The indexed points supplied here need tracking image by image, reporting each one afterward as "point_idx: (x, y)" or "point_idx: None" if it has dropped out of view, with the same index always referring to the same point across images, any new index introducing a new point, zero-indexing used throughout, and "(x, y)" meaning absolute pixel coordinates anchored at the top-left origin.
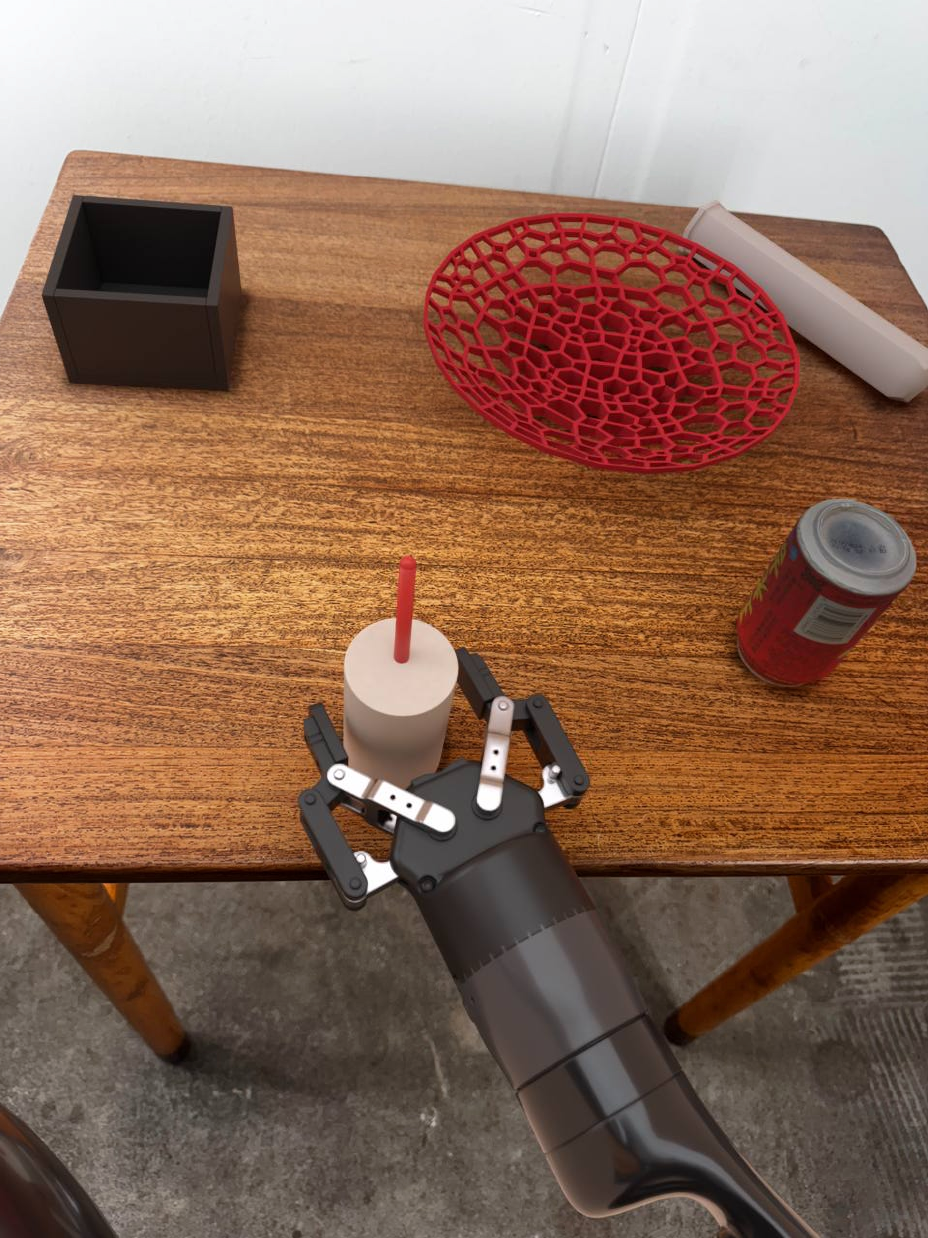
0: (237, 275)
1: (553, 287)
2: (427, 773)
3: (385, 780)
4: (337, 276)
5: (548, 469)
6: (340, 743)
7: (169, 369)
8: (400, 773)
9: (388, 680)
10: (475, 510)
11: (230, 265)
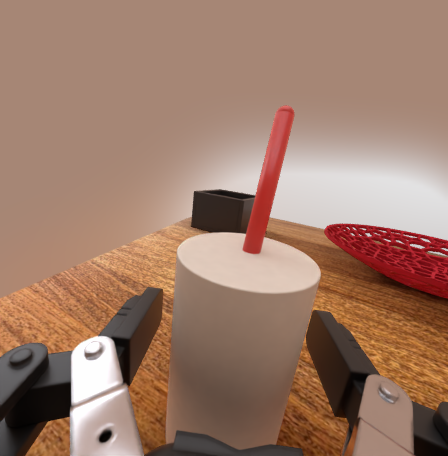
0: None
1: (387, 247)
2: None
3: None
4: (292, 233)
5: (392, 300)
6: (138, 321)
7: (221, 226)
8: None
9: (223, 255)
10: (341, 300)
11: None
